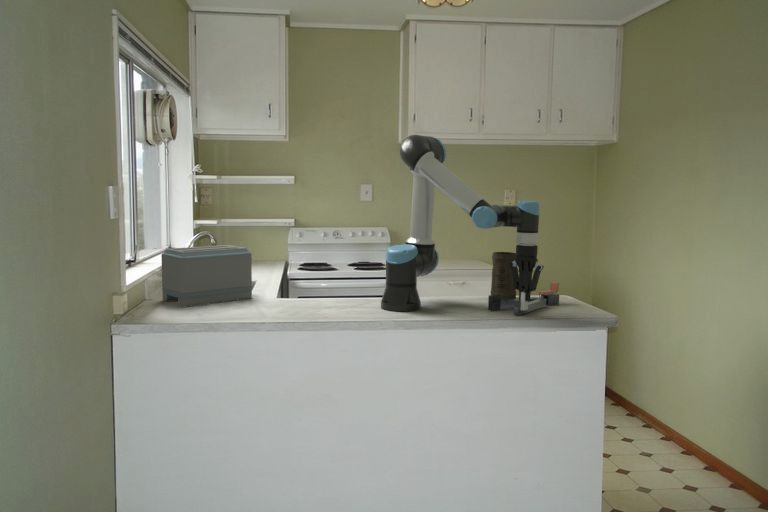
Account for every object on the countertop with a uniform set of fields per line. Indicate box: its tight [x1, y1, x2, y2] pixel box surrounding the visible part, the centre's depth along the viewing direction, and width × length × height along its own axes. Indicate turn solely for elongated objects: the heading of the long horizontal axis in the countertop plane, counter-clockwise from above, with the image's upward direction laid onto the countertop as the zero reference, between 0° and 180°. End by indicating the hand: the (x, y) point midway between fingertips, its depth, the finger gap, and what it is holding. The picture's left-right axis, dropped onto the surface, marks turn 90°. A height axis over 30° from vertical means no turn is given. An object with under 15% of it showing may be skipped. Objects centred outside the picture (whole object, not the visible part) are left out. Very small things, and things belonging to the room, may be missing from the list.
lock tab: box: [538, 281, 560, 294], centre depth 249 cm, size 8×3×4 cm, turn 122°
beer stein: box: [490, 251, 517, 301], centre depth 257 cm, size 15×11×20 cm
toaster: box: [161, 244, 253, 308], centre depth 250 cm, size 19×33×20 cm, turn 133°
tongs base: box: [487, 293, 560, 312], centre depth 243 cm, size 32×5×6 cm, turn 122°
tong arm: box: [513, 298, 547, 316], centre depth 236 cm, size 23×2×5 cm, turn 142°
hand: (524, 309), depth 227 cm, fingers closed
